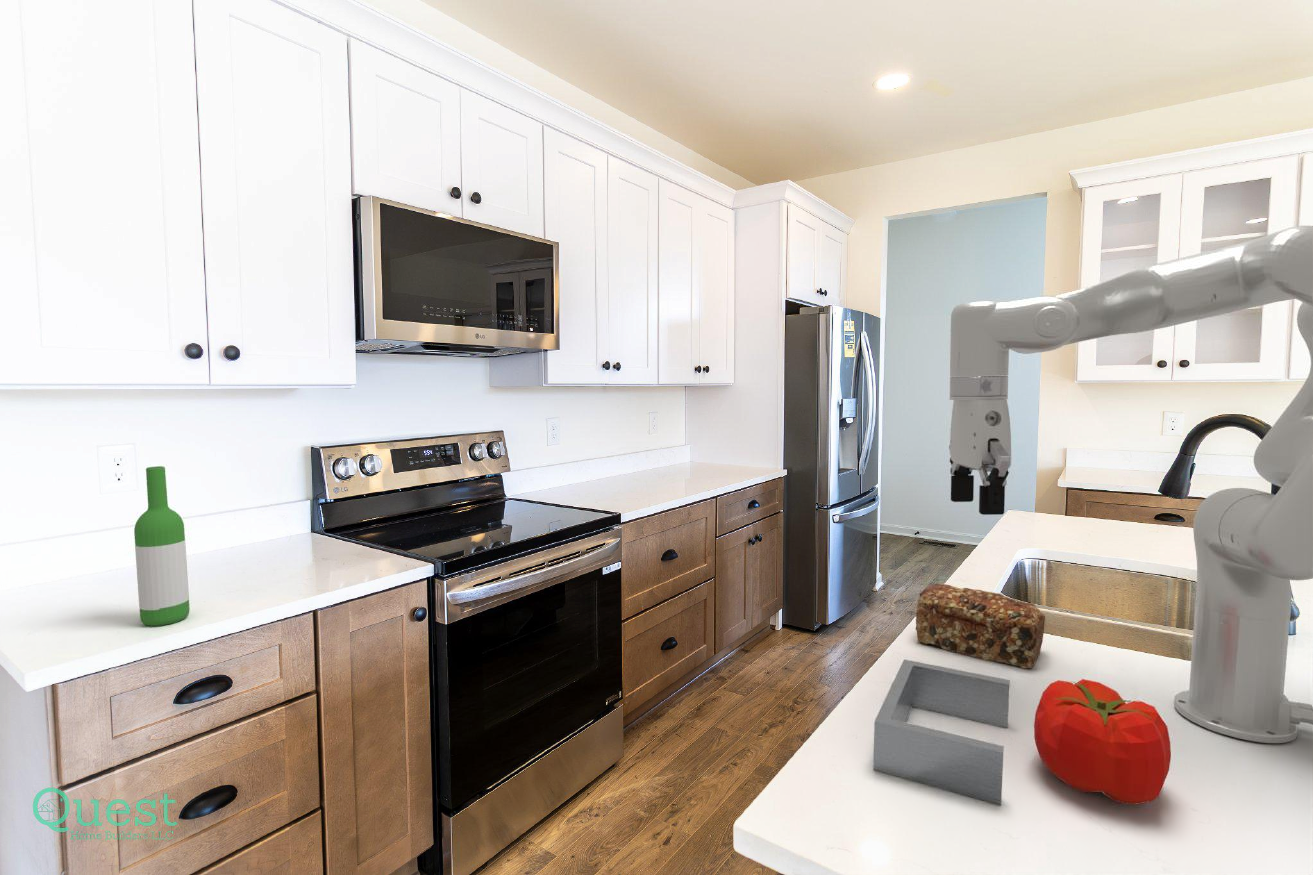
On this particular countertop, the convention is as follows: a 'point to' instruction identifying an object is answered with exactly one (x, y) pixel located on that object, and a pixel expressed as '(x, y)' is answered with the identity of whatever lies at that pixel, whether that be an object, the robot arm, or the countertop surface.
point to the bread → (980, 624)
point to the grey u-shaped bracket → (935, 751)
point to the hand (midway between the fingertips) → (976, 507)
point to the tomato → (1102, 741)
